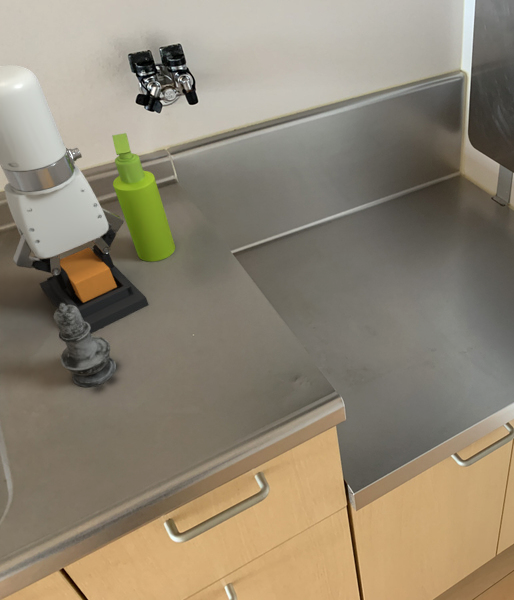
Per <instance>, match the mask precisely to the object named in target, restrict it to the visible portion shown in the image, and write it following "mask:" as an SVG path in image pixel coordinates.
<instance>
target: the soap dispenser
mask: <svg viewBox="0 0 514 600" xmlns="http://www.w3.org/2000/svg"><path fill="white" fill-rule="evenodd" d="M111 137H112V142H113V146H114V150H115V154H116V155H117V156H116V158H114V164H115V167H116V170H117V172H118V176H117V177H115V178H114V180H113V181H112V186H113V189H114V192H115V194H116V198H117V200H118V203H119V206H120V208H121V211H122V214H123V217H124V220H125V223H126V226H127V228H128V231H129V234H130V237H131V239H132V243H133V245H134V249H135V252H136V254H137V256H138V258H139V259H140V260H141V261H145V262H151V263H152V262H159V261H163V260H165V259H167V258H169V257H170V256H172V255H173V254H174V252H175V251H176V244H175V241H174V237H173V233H172V231H171V227H170V224H169V221H168V217H167V214H166V211H165V207H164V204H163V201H162V197H161V194H160V191H159V187H158V184H157V181H156V177H155V174H154V173H152V172H151V171H148V170H144V168H143V166H142V162H141V159H140V156H139V155H138V154H137V153H132V149H131V147H130V142H129V139H128V135H127V132H124V133H118V134H113V135H112V136H111Z"/></svg>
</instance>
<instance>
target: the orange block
mask: <svg viewBox="0 0 514 600" xmlns="http://www.w3.org/2000/svg"><path fill="white" fill-rule="evenodd" d="M60 266H61V267H62V268H63V269H64V270H65V271H66V273H67V275H68V278H69V280H70V282H71V284H72V286H73V289H74V291H75V294H76V295H77V297H78V298H79V299H80V300H81V301H82V302H83V303H84V302H86V301H88V300H91V299H93V298H95V297H97V296H99V295H101V294H103V293H106V292H108V291H110V290H112V289H114V288H116V287H117V286H116V283H115V281H114V278H113V276H112V273H111V271H110V268H109V267H108V266H107V265H106V264H105V263H104V262H102V261H101V260H100V259H99V258H98V257H97V256H96V255H95V254H94V252H93V249H91V248H90V247H86V248H83V249H81V250H79V251H77V252H75V253H72V254H70V255H67V256H65V257H63V258H60Z"/></svg>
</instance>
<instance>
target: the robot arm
mask: <svg viewBox="0 0 514 600" xmlns="http://www.w3.org/2000/svg"><path fill="white" fill-rule="evenodd" d="M81 158H82V153H81V150H80V149H79V148H78V147H74V148H67V147H66V144H65V142H64V140H63V138H62V135H61V133H60V131H59V128H58V125H57V123H56V120H55V118H54V116H53V113H52V111H51V108H50V106H49V103H48V100H47V98H46V95H45V92H44V90H43V87H42V85H41V83H40V81H39V78H38V77H37V76H36V74H35V73H34V72H33V71H32V70H30V69H29V68H28V67H25V66H23V65H19V64H18V65H17V64H0V167H1V169H2V171H3V174H4V175H5V178H6V179H7V182H8V183H6V184H5V185H4V187H3V190H4V194H5V195H4V196H5V199H6V201H7V206H8V208H9V211H10V214H11V217H12V219H13V221H14V224H15V226H16V229H17V231H18V233H19V236H20V239H19V241H18V244H17V247H16V250H15V253H14V255H13V258H12V262H14V264H15V265H16V266H17V267H18V268H19V267H20V268H26V269H35V270H36V271H41V272H45V273H48V274H51V275H52V276H53V277H54V279H55V281H56V283H57V285H58V287H59V288H60V289H61V290H64V289H66V290H67V291H68V293H69V294H70V295H74V294H75V291H74V289H73V286H72V284H71V282H70V280H69V278H68V275H67V273H66V271H65V270H64V269H63V268H62V267H61V266H60V259H61V257H60V255H61V254H63V253H66V252H68V251H71V250H73V249H76V248H78V247H80V246H82V245H85V244H87V243H90V242H92V243H93V244H94V245H93V247H92V248H93V249H92V251H93V252H94V254H95V255H96V256H97V257H98V258H99V259H100V260H101V261H102V262H104V263H105V264H106V265H107V266H108V267H109V268H110V271H111V273H112V276H114V274H113V272H112V269H111V268H113V267H114V266H115V263H114V262H113V259H112V257H111V254H110V252H111V246H112V244H113V242H114V240H115V238H116V236H117V233H118V232H119V230H120V229H121V227H122V226H123V224H124V220H123V218H121V217H120V215H117V214H115V213H113V212H112V211H109V210H108V209H105V208H104V207H102V206H101V204H100V202H99V200H98V197H97V196H96V194H95V192H94V190H93V188H92V187H91V185H90V183H89V182H88V179H87V178H86V177H85V175H84V173H83V172H82V171H81V170H80V168H79V166H77V165H76V164H75V162H76V161H78V160H79V159H81ZM31 252H32V253H33V254H34V256H31Z"/></svg>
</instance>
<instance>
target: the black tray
mask: <svg viewBox="0 0 514 600" xmlns="http://www.w3.org/2000/svg"><path fill="white" fill-rule="evenodd" d="M111 269H112V272H113V274H114V276H113V278H114V281H115V283H116V286H117V287H116V288H114V289H112V290H110V291H108V292H106V293H103V294H101V295H99V296H97V297H95V298H93V299H91V300H88V301H86V302H84V303H83V302H82V301H81V300H80V299H79V298H78V297H77V295H76V294H74V295H70V294H69V293H68V291H67V290H66V289H64V290H61V289H60V288H59V287H58V285H57V283H56V281H55V279H54V277H53V275H52V276H50V277H47V278H46V280H44V281H42V282H39V286H40V288H41V290H42V291H43V293H44V294H45V295H46V297H47V298H48V299H49V300H50V301H51V303H52V304H53V305H54V307H55V308H56V310H57V309H58V308H60V307H59V305H60V303H63V304H65V305H73V306H76V307H77V308H78V309H79V311H80V314H81V316H82V318H83V320H84V321H85V322H87V323H88V324H89V325H90V333H91V334H93V333H94V332H96V331H98V330H100V329H103V328H105V327H107V326H109V325H111V324H113V323H114V322H116V321H119V320H121V319H123V318H125V317H127V316H129V315H131V314H133V313H135V312H137V311H139V310H141V309H143V308H145V307H147V306H149V302H148V299H147V297H146V296H145V294H143V293H142V291H140V289H139V288H137V286H135V284H134V283H132V281H130V279H129V278H128V277H127V276H126V275H125V274H124V273H123V272H121V270H120V269H118V267H117V266H116V265H114V267H113V268H111Z"/></svg>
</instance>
